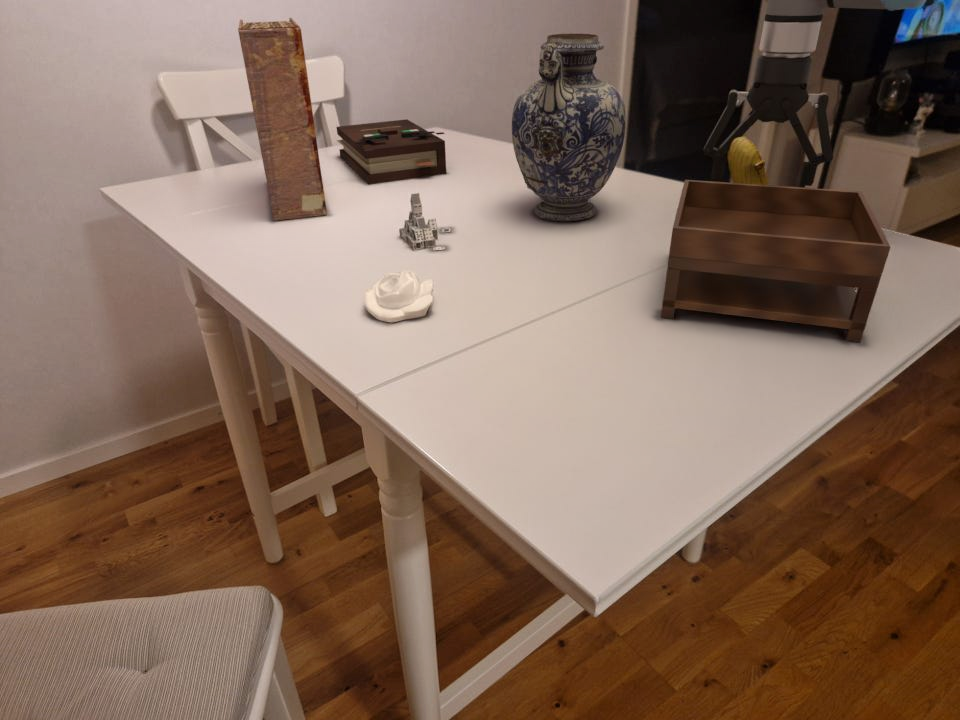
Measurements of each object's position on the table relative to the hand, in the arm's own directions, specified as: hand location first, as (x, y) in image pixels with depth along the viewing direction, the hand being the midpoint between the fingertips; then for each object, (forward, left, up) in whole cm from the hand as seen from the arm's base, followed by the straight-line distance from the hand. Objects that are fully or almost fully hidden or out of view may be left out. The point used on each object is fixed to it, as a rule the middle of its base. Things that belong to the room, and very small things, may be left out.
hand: (756, 202), depth 106 cm
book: (+82, +7, -4) cm, 82 cm away
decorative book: (+75, -20, -4) cm, 78 cm away
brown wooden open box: (0, +28, -4) cm, 28 cm away
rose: (+43, +44, -4) cm, 62 cm away
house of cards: (+48, +21, -4) cm, 53 cm away
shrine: (0, 0, -4) cm, 4 cm away
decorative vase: (+31, +2, -4) cm, 31 cm away
